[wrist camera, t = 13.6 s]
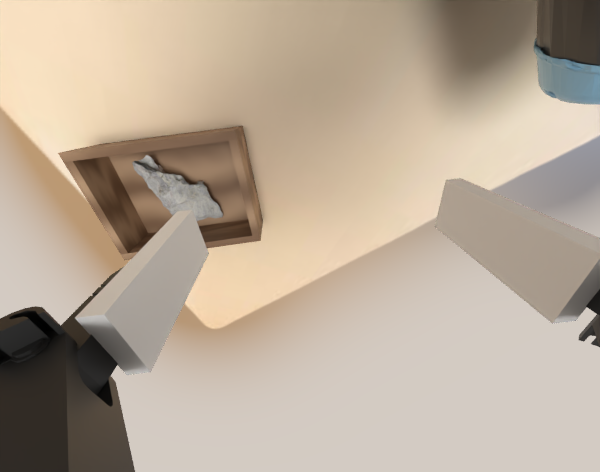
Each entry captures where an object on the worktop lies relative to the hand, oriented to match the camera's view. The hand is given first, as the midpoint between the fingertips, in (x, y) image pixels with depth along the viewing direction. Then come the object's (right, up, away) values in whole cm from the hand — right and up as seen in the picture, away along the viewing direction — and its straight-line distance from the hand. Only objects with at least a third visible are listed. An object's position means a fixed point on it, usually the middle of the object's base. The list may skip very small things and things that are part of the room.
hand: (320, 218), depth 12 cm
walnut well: (-18, +7, +23) cm, 31 cm away
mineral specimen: (-19, +6, +23) cm, 30 cm away
